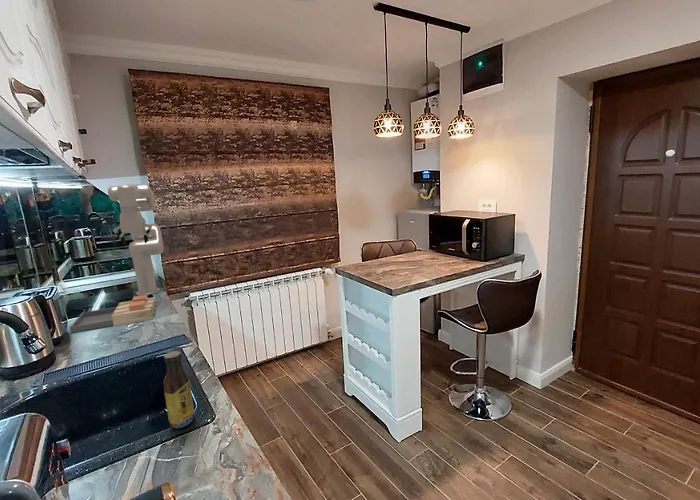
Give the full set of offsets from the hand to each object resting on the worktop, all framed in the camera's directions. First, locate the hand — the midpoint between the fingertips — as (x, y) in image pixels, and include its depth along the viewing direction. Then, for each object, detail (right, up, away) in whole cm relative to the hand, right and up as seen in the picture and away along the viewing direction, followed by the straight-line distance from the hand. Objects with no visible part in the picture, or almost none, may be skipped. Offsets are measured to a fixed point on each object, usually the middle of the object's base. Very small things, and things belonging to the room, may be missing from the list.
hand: (135, 243), depth 185 cm
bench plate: (+4, -36, -6) cm, 36 cm away
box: (-11, -38, -12) cm, 41 cm away
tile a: (+4, -30, -2) cm, 30 cm away
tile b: (+8, -31, -11) cm, 34 cm away
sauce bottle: (+65, -50, -88) cm, 120 cm away
